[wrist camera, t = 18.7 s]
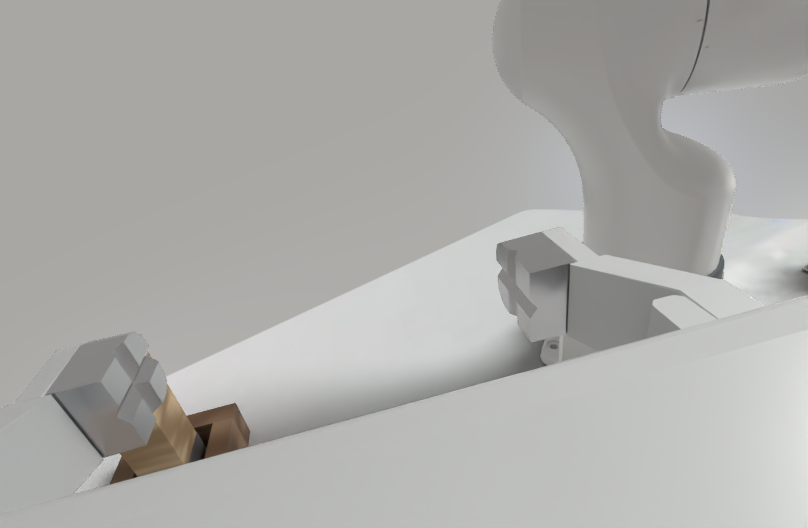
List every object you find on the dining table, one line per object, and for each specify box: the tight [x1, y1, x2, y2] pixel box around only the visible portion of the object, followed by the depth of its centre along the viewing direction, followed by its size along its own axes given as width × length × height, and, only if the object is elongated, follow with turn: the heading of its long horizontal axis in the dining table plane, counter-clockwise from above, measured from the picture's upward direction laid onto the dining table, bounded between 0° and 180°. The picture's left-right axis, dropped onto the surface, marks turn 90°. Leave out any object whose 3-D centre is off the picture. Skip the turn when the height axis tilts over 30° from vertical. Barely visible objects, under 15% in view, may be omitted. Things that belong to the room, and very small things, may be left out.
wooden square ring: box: [110, 403, 250, 484], centre depth 42 cm, size 10×10×4 cm
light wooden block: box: [120, 352, 207, 477], centre depth 39 cm, size 4×4×16 cm
